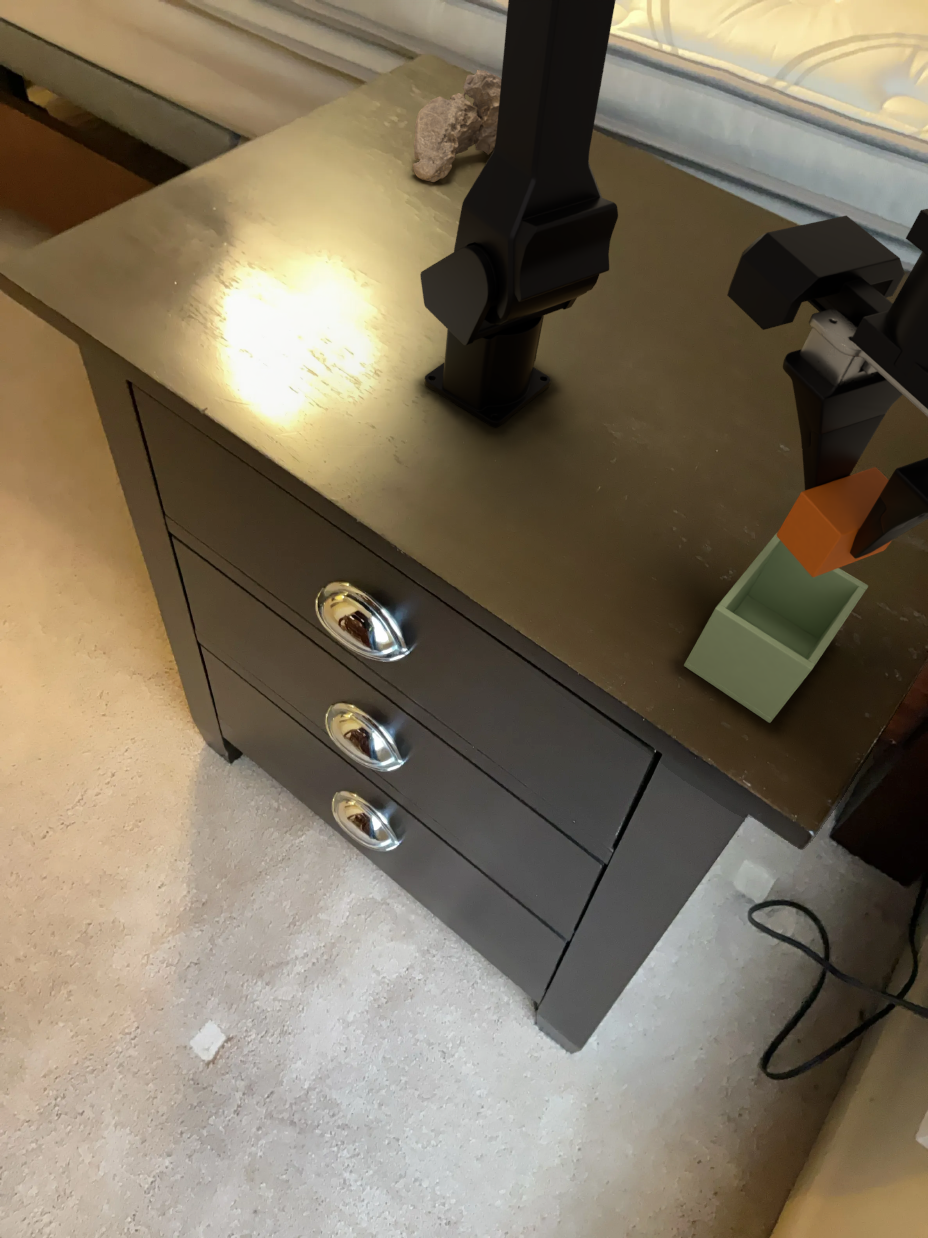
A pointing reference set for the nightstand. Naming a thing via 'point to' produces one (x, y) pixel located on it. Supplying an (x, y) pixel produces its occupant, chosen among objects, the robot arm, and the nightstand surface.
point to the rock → (456, 126)
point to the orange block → (831, 521)
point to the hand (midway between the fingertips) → (837, 529)
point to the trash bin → (772, 629)
